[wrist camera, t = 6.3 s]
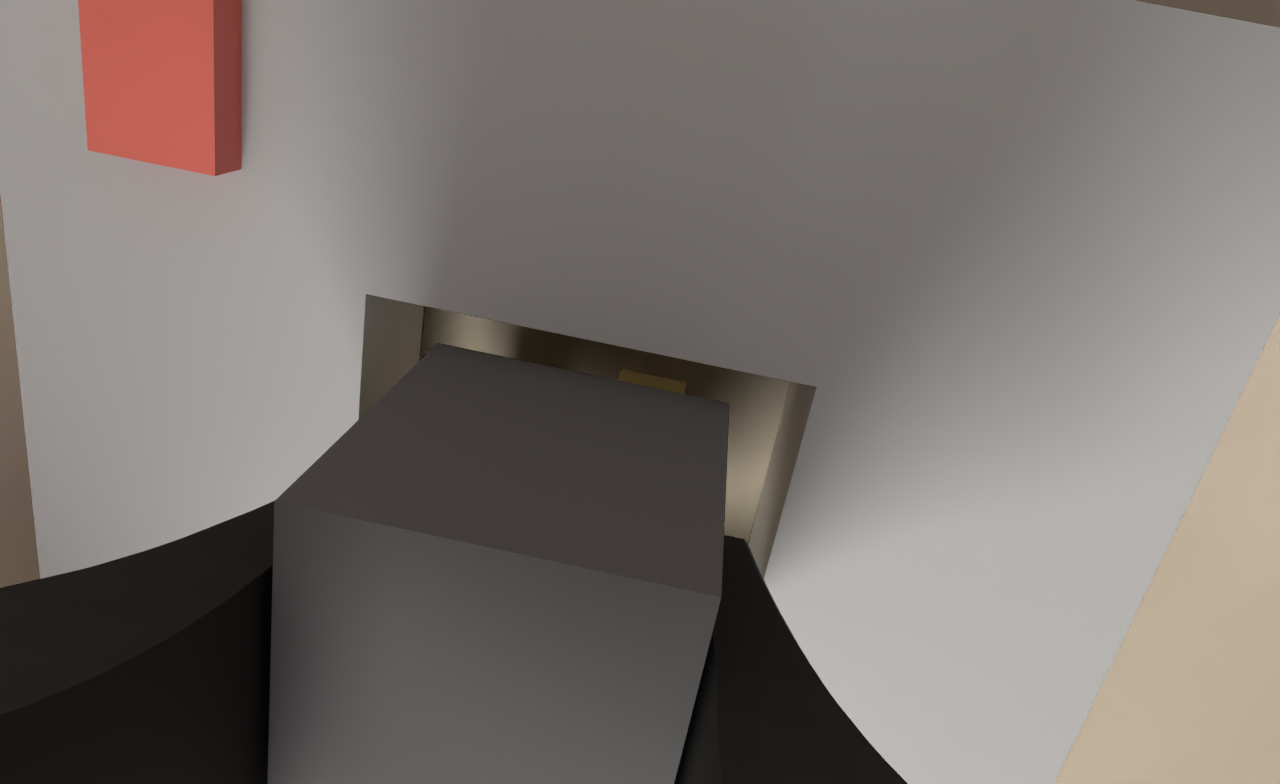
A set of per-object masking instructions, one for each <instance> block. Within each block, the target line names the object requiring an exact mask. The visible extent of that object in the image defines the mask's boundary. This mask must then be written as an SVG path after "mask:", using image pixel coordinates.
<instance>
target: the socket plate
mask: <svg viewBox="0 0 1280 784" xmlns="http://www.w3.org/2000/svg"><path fill="white" fill-rule="evenodd" d="M0 196H1V206H2V215H3V225H4V235H5V245H6V254H7V264H8V274H9V283H10V293H11V303H12V312H13V322H14V332H15V341H16V351H17V361H18V370H19V380H20V390H21V400H22V409H23V419H24V429H25V438H26V448H27V458H28V467H29V477H30V487H31V496H32V506H33V516H34V525H35V535H36V545H37V555H38V564H39V574H40V579H42V578H46V577H51V576H55V575H59V574H63V573H68V572H72V571H76V570H81V569H85V568H88V567H92V566H96V565H99V564H103V563H106V562H109V561H113V560H116V559H119V558H123V557H126V556H129V555H133V554H136V553H139V552H143V551H146V550H149V549H152V548H155V547H158V546H161V545H164V544H167V543H170V542H173V541H175V540H178V539H181V538H184V537H186V536H189V535H191V534H194V533H196V532H199V531H202V530H204V529H207V528H209V527H212V526H214V525H217V524H219V523H222V522H224V521H227V520H229V519H232V518H234V517H237V516H239V515H242V514H245V513H247V512H250V511H252V510H254V509H257V508H259V507H261V506H263V505H266V504H268V503H270V502H272V501H275V500H276V499H277V498H278V497H279V496H280V495H281V494H282V493H283V492H284V491H285V490H287V489H288V488H289V487H290V486H291V485H292V484H293V483H294V482H295V481H296V480H297V479H298V478H299V477H300V476H301V475H302V474H303V473H304V472H305V471H306V470H307V469H308V468H309V467H310V466H311V465H312V464H313V463H314V462H315V461H317V460H318V459H319V458H320V457H321V456H322V455H323V454H324V453H325V452H326V451H327V450H328V449H329V448H330V447H331V446H332V445H333V444H334V443H335V442H336V441H337V440H338V439H339V438H340V437H341V436H342V435H343V434H344V433H346V432H347V431H348V430H349V429H350V428H351V427H352V426H353V425H354V424H355V423H356V422H357V421H358V420H359V419H360V418H361V417H362V416H363V415H364V414H365V413H366V412H367V411H368V410H369V409H370V408H371V407H372V406H373V405H375V404H376V403H377V402H378V401H379V400H380V399H381V398H382V397H383V396H384V395H385V394H386V393H387V392H388V391H389V390H390V389H391V388H392V387H393V386H394V385H395V384H396V383H397V382H398V381H399V380H400V379H401V378H402V377H404V376H405V375H406V374H407V373H408V372H409V371H410V370H411V369H412V368H413V367H414V366H415V365H416V364H417V363H418V362H419V360H420V349H421V337H422V325H423V314H424V306H427V307H432V308H436V309H441V310H446V311H451V312H456V313H461V314H465V315H470V316H475V317H480V318H485V319H490V320H495V321H499V322H504V323H509V324H514V325H519V326H524V327H528V328H533V329H538V330H543V331H548V332H553V333H557V334H562V335H567V336H572V337H577V338H582V339H587V340H591V341H596V342H601V343H606V344H611V345H616V346H620V347H625V348H630V349H635V350H640V351H645V352H649V353H654V354H659V355H664V356H669V357H674V358H679V359H683V360H688V361H693V362H698V363H703V364H708V365H712V366H717V367H722V368H727V369H732V370H737V371H741V372H746V373H751V374H756V375H761V376H766V377H771V378H775V379H780V380H785V381H790V382H791V383H790V387H789V391H788V395H787V399H786V402H785V406H784V410H783V414H782V418H781V421H780V425H779V429H778V433H777V437H776V440H775V444H774V448H773V452H772V456H771V459H770V463H769V467H768V471H767V475H766V478H765V482H764V486H763V490H762V494H761V497H760V501H759V505H758V509H757V513H756V516H755V520H754V524H753V528H752V532H751V535H750V539H749V543H748V546H749V548H750V550H751V552H752V555H753V557H754V559H755V562H756V564H757V566H758V568H759V571H760V573H761V575H762V577H763V579H764V581H765V583H766V585H767V587H768V589H769V591H770V593H771V595H772V598H773V599H774V601H775V603H776V605H777V607H778V609H779V611H780V613H781V615H782V616H783V618H784V620H785V622H786V624H787V625H788V627H789V629H790V631H791V632H792V634H793V636H794V638H795V639H796V641H797V643H798V645H799V646H800V648H801V650H802V651H803V653H804V654H805V656H806V658H807V659H808V661H809V663H810V664H811V666H812V667H813V669H814V670H815V672H816V673H817V675H818V676H819V678H820V679H821V681H822V682H823V684H824V685H825V687H826V688H827V690H828V691H829V692H830V694H831V695H832V697H833V698H834V699H835V701H836V702H837V703H838V705H839V706H840V707H841V708H842V710H843V711H844V712H845V713H846V714H847V716H848V717H849V718H850V719H851V721H852V722H853V723H854V724H855V726H856V727H857V728H858V729H859V731H860V732H861V733H862V734H863V735H864V737H865V738H866V739H867V740H868V741H869V743H870V744H871V745H872V746H873V747H874V748H875V749H876V750H877V752H878V753H879V754H880V755H881V756H882V757H883V758H884V759H885V761H886V762H887V763H888V764H889V765H890V766H891V767H892V768H893V769H894V770H895V771H896V772H897V773H898V774H899V775H900V776H901V777H902V778H903V779H904V780H905V781H906V782H907V783H908V784H1054V783H1055V781H1056V779H1057V777H1058V775H1059V773H1060V771H1061V768H1062V766H1063V764H1064V762H1065V760H1066V758H1067V756H1068V754H1069V752H1070V750H1071V748H1072V745H1073V743H1074V741H1075V739H1076V737H1077V735H1078V733H1079V731H1080V729H1081V727H1082V725H1083V723H1084V720H1085V718H1086V716H1087V714H1088V712H1089V710H1090V708H1091V706H1092V704H1093V702H1094V700H1095V698H1096V695H1097V693H1098V691H1099V689H1100V687H1101V685H1102V683H1103V681H1104V679H1105V677H1106V675H1107V673H1108V670H1109V668H1110V666H1111V664H1112V662H1113V660H1114V658H1115V656H1116V654H1117V652H1118V650H1119V648H1120V645H1121V643H1122V641H1123V639H1124V637H1125V635H1126V633H1127V631H1128V629H1129V627H1130V625H1131V623H1132V620H1133V618H1134V616H1135V614H1136V612H1137V610H1138V608H1139V606H1140V604H1141V602H1142V600H1143V598H1144V595H1145V593H1146V591H1147V589H1148V587H1149V585H1150V583H1151V581H1152V579H1153V577H1154V575H1155V573H1156V570H1157V568H1158V566H1159V564H1160V562H1161V560H1162V558H1163V556H1164V554H1165V552H1166V550H1167V547H1168V545H1169V543H1170V541H1171V539H1172V537H1173V535H1174V533H1175V531H1176V529H1177V527H1178V525H1179V522H1180V520H1181V518H1182V516H1183V514H1184V512H1185V510H1186V508H1187V506H1188V504H1189V502H1190V500H1191V497H1192V495H1193V493H1194V491H1195V489H1196V487H1197V485H1198V483H1199V481H1200V479H1201V477H1202V475H1203V472H1204V470H1205V468H1206V466H1207V464H1208V462H1209V460H1210V458H1211V456H1212V454H1213V452H1214V450H1215V447H1216V445H1217V443H1218V441H1219V439H1220V437H1221V435H1222V433H1223V431H1224V429H1225V427H1226V425H1227V422H1228V420H1229V418H1230V416H1231V414H1232V412H1233V410H1234V408H1235V406H1236V404H1237V402H1238V400H1239V397H1240V395H1241V393H1242V391H1243V389H1244V387H1245V385H1246V383H1247V381H1248V379H1249V377H1250V375H1251V372H1252V370H1253V368H1254V366H1255V364H1256V362H1257V360H1258V358H1259V356H1260V354H1261V352H1262V349H1263V347H1264V345H1265V343H1266V341H1267V339H1268V337H1269V335H1270V333H1271V331H1272V329H1273V327H1274V324H1275V322H1276V320H1277V318H1278V316H1279V314H1280V27H1274V26H1269V25H1264V24H1258V23H1253V22H1248V21H1242V20H1237V19H1232V18H1226V17H1221V16H1216V15H1211V14H1205V13H1200V12H1195V11H1189V10H1184V9H1179V8H1173V7H1168V6H1163V5H1157V4H1152V3H1147V2H1141V1H1136V0H0Z"/></svg>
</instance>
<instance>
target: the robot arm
mask: <svg viewBox="0 0 1280 784" xmlns="http://www.w3.org/2000/svg"><path fill="white" fill-rule="evenodd" d="M273 537H274V501H272V502H270V503H268V504H266V505H263V506H261V507H259V508H257V509H254V510H252V511H250V512H247V513H245V514H242V515H239V516H237V517H234V518H232V519H229V520H227V521H224V522H222V523H219V524H217V525H214V526H212V527H209V528H207V529H204V530H202V531H199V532H196V533H194V534H191V535H189V536H186V537H184V538H181V539H178V540H175V541H173V542H170V543H167V544H164V545H161V546H158V547H155V548H152V549H149V550H146V551H143V552H139V553H136V554H133V555H129V556H126V557H123V558H119V559H116V560H113V561H109V562H106V563H103V564H99V565H96V566H92V567H88V568H85V569H81V570H76V571H72V572H68V573H63V574H59V575H55V576H51V577H46V578H42V579H38V580H33V581H29V582H25V583H20V584H16V585H12V586H7V587H3V588H0V784H268V744H269V703H270V661H271V620H272V578H273ZM674 784H908V783H907V782H906V781H905V780H904V779H903V778H902V777H901V776H900V775H899V774H898V773H897V772H896V771H895V770H894V769H893V768H892V767H891V766H890V765H889V764H888V763H887V762H886V761H885V759H884V758H883V757H882V756H881V755H880V754H879V753H878V752H877V750H876V749H875V748H874V747H873V746H872V745H871V744H870V743H869V741H868V740H867V739H866V738H865V737H864V735H863V734H862V733H861V732H860V731H859V729H858V728H857V727H856V726H855V724H854V723H853V722H852V721H851V719H850V718H849V717H848V716H847V714H846V713H845V712H844V711H843V710H842V708H841V707H840V706H839V705H838V703H837V702H836V701H835V699H834V698H833V697H832V695H831V694H830V692H829V691H828V690H827V688H826V687H825V685H824V684H823V682H822V681H821V679H820V678H819V676H818V675H817V673H816V672H815V670H814V669H813V667H812V666H811V664H810V663H809V661H808V659H807V658H806V656H805V654H804V653H803V651H802V650H801V648H800V646H799V645H798V643H797V641H796V639H795V638H794V636H793V634H792V632H791V631H790V629H789V627H788V625H787V624H786V622H785V620H784V618H783V616H782V615H781V613H780V611H779V609H778V607H777V605H776V603H775V601H774V599H773V598H772V595H771V593H770V591H769V589H768V587H767V585H766V583H765V581H764V579H763V577H762V575H761V573H760V571H759V568H758V566H757V564H756V562H755V559H754V557H753V555H752V552H751V550H750V548H749V546H748V545H747V543H746V542H745V540H744V539H740V538H735V537H730V536H726V535H724V545H723V569H722V593H721V601H720V605H719V608H718V612H717V616H716V620H715V624H714V628H713V632H712V636H711V640H710V644H709V648H708V652H707V656H706V660H705V664H704V668H703V672H702V675H701V679H700V683H699V687H698V691H697V695H696V699H695V703H694V707H693V711H692V715H691V719H690V723H689V727H688V731H687V735H686V739H685V742H684V746H683V750H682V754H681V758H680V762H679V766H678V770H677V774H676V778H675V782H674Z"/></svg>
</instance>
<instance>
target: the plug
mask: <svg viewBox="0 0 1280 784" xmlns="http://www.w3.org/2000/svg"><path fill="white" fill-rule="evenodd" d="M685 387H686V382H682V381H677V380H672V379H667V378H662V377H658V376H653V375H648V374H643V373H638V372H633V371H629V370H624V369H621V371H620V374H619V377H618V379H617V380H614V379H609V378H604V377H599V376H594V375H590V374H585V373H580V372H575V371H570V370H565V369H561V368H556V367H551V366H546V365H541V364H536V363H532V362H527V361H522V360H517V359H512V358H508V357H503V356H498V355H493V354H488V353H483V352H479V351H474V350H469V349H464V348H459V347H454V346H450V345H445V344H440V343H438V344H437V345H436V346H435V347H434V348H432V349H431V350H430V351H429V352H428V353H427V354H426V355H425V356H424V357H423V358H422V359H421V360H420V361H419V362H418V363H417V364H416V365H415V366H414V367H413V368H412V369H411V370H410V371H409V372H408V373H407V374H406V375H405V376H404V377H402V378H401V379H400V380H399V381H398V382H397V383H396V384H395V385H394V386H393V387H392V388H391V389H390V390H389V391H388V392H387V393H386V394H385V395H384V396H383V397H382V398H381V399H380V400H379V401H378V402H377V403H376V404H375V405H373V406H372V407H371V408H370V409H369V410H368V411H367V412H366V413H365V414H364V415H363V416H362V417H361V418H360V419H359V420H358V421H357V422H356V423H355V424H354V425H353V426H352V427H351V428H350V429H349V430H348V431H347V432H346V433H344V434H343V435H342V436H341V437H340V438H339V439H338V440H337V441H336V442H335V443H334V444H333V445H332V446H331V447H330V448H329V449H328V450H327V451H326V452H325V453H324V454H323V455H322V456H321V457H320V458H319V459H318V460H317V461H315V462H314V463H313V464H312V465H311V466H310V467H309V468H308V469H307V470H306V471H305V472H304V473H303V474H302V475H301V476H300V477H299V478H298V479H297V480H296V481H295V482H294V483H293V484H292V485H291V486H290V487H289V488H288V489H287V490H285V491H284V492H283V493H282V494H281V495H280V496H279V497H278V498H277V499H276V500H275V501H274V537H273V578H272V620H271V661H270V703H269V744H268V784H674V782H675V778H676V774H677V770H678V766H679V762H680V758H681V754H682V750H683V746H684V742H685V739H686V735H687V731H688V727H689V723H690V719H691V715H692V711H693V707H694V703H695V699H696V695H697V691H698V687H699V683H700V679H701V675H702V672H703V668H704V664H705V660H706V656H707V652H708V648H709V644H710V640H711V636H712V632H713V628H714V624H715V620H716V616H717V612H718V608H719V605H720V601H721V593H722V569H723V545H724V521H725V498H726V474H727V450H728V426H729V403H725V402H720V401H715V400H710V399H706V398H701V397H696V396H691V395H686V394H684V393H685Z"/></svg>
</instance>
